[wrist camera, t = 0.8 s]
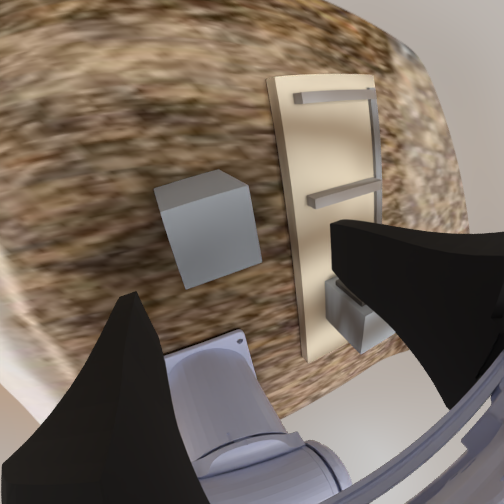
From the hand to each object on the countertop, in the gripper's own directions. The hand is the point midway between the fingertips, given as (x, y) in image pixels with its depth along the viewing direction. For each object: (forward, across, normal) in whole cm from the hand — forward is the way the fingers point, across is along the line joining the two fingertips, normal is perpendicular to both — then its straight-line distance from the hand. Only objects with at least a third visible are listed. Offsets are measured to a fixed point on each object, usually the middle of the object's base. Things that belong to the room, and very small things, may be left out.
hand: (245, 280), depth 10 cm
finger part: (+9, 0, 0) cm, 9 cm away
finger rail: (+9, -10, +5) cm, 14 cm away
